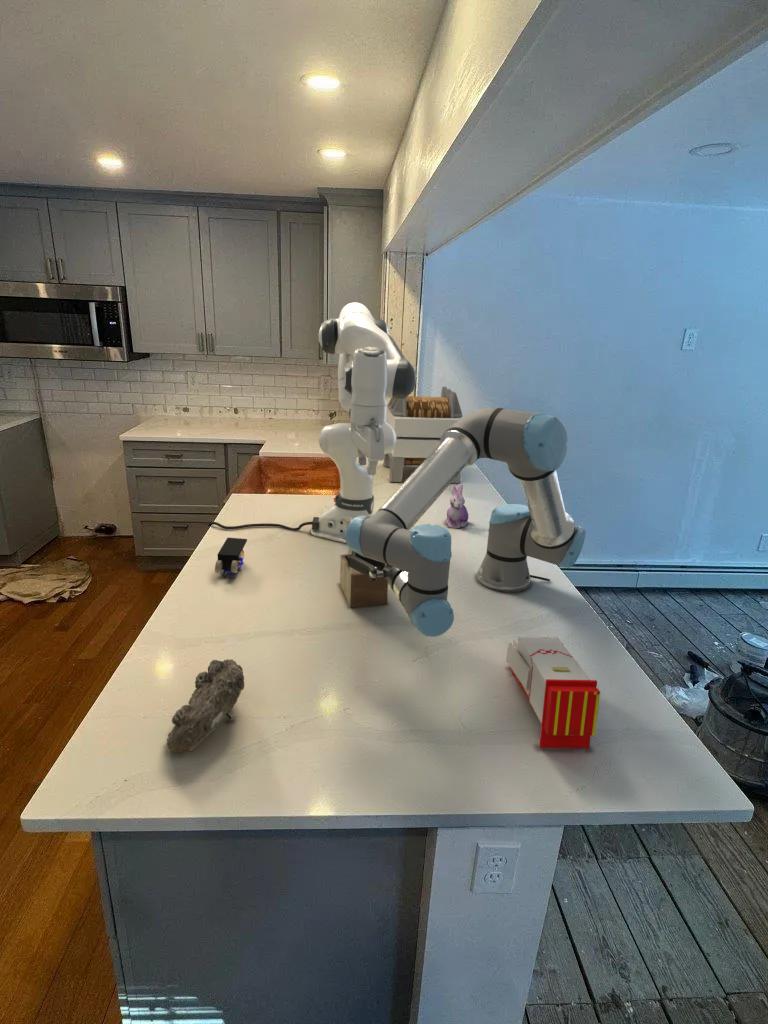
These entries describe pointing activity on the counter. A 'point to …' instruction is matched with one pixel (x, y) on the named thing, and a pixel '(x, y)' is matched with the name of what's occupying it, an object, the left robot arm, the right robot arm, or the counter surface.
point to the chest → (361, 587)
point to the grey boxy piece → (419, 429)
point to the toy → (555, 691)
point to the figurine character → (230, 556)
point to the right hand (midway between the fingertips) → (382, 543)
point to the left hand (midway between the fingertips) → (366, 469)
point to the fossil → (206, 705)
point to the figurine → (457, 509)
